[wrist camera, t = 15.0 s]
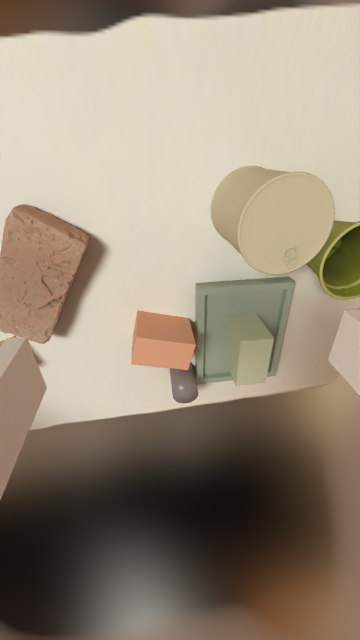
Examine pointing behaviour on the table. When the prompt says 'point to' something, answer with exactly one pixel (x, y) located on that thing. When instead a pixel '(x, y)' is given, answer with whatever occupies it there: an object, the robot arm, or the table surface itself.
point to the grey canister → (184, 385)
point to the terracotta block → (162, 341)
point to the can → (273, 217)
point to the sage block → (247, 348)
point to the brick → (37, 271)
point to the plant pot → (340, 261)
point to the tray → (237, 298)
